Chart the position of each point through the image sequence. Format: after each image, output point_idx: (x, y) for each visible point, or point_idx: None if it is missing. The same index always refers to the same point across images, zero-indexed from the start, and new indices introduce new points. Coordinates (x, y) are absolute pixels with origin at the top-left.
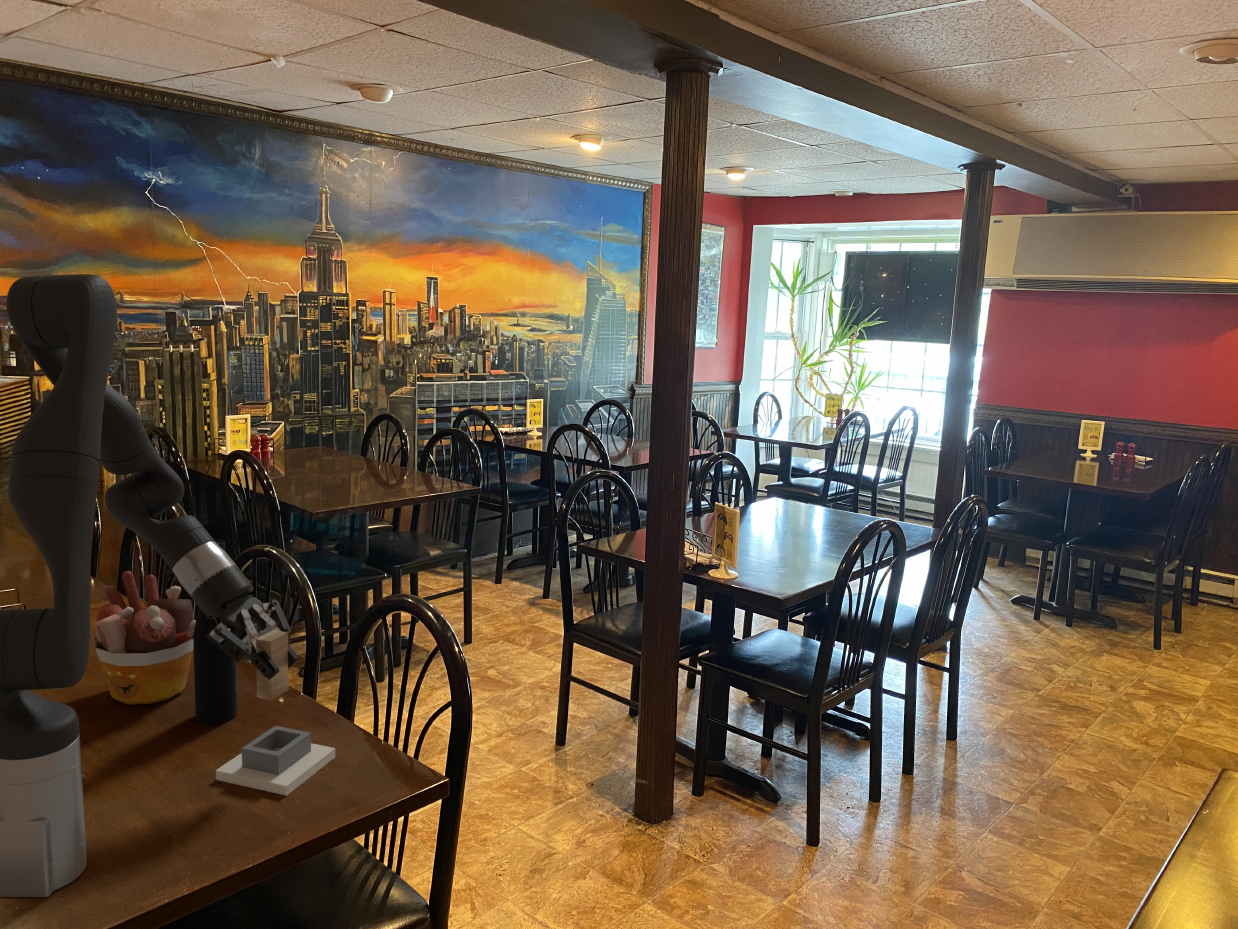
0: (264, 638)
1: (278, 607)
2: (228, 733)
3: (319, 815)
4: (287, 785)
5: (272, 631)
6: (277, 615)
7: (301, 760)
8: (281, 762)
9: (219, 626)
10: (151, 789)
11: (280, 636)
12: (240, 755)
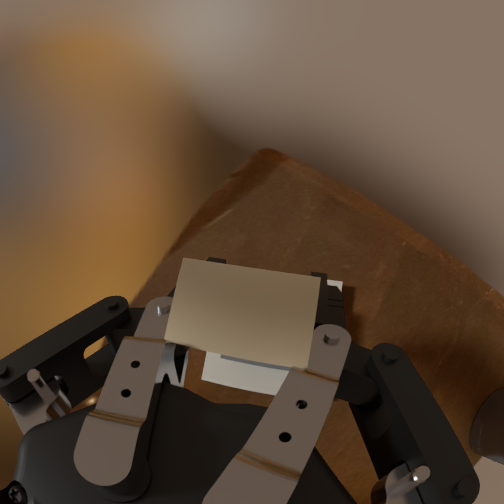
0: (288, 330)
1: (20, 357)
2: None
3: (365, 227)
4: (340, 281)
5: (184, 336)
6: (62, 352)
7: None
8: None
9: (462, 499)
10: (356, 456)
11: (240, 266)
12: (274, 391)
